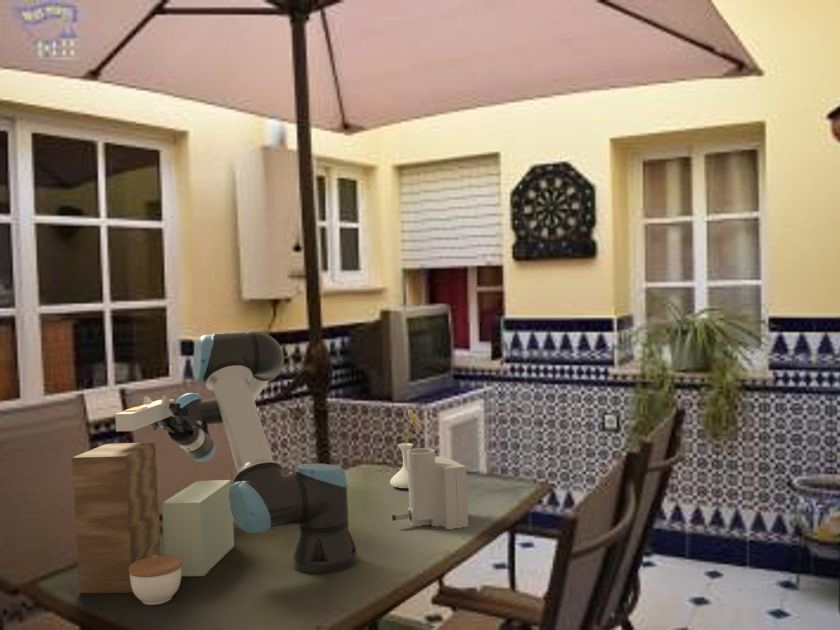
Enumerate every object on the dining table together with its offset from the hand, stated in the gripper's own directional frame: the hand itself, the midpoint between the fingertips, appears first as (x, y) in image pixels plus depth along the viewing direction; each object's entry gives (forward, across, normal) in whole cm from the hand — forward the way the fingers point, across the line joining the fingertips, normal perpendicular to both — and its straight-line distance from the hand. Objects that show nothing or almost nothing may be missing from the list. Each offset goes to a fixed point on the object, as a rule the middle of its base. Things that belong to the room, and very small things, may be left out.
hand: (154, 401), depth 204 cm
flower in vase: (-75, -56, -1) cm, 94 cm away
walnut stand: (-3, +2, -43) cm, 43 cm away
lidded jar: (+7, -12, -49) cm, 51 cm away
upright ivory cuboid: (-14, -12, -36) cm, 41 cm away
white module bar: (+2, 0, -6) cm, 7 cm away
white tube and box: (-38, -65, -23) cm, 79 cm away
